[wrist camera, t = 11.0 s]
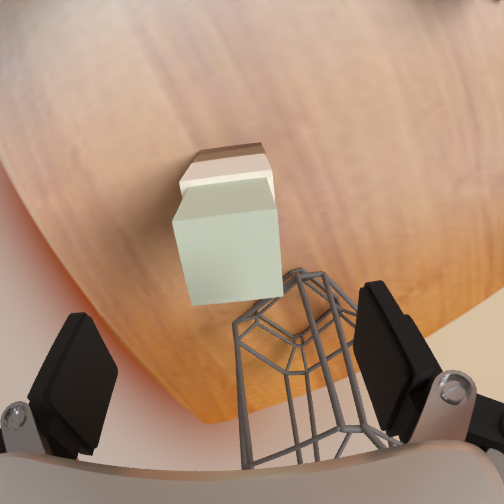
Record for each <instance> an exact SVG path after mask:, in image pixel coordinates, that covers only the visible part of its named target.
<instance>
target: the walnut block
mask: <svg viewBox="0 0 504 504" xmlns="http://www.w3.org/2000/svg"><path fill="white" fill-rule="evenodd" d="M264 153H265V151H264V148H263V146H262V144H261V142H260V143H251V144H243V145H235V146H227V147H220V148H213V149H206V150H200V152H199V153H198V155H197V156H196V158H195V159H194V161H193V162H192V163H195V162H202V161H209V160H216V159H223V158H230V157H238V156H246V155H255V154H264ZM265 155H266V153H265Z"/></svg>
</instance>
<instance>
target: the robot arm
mask: <svg viewBox="0 0 504 504" xmlns="http://www.w3.org/2000/svg"><path fill="white" fill-rule="evenodd" d="M353 350H354V355H355V357H356V360H357V363H358V365H359V368H360V371H361V373H362V376H363V379H364V382H365V385H366V388H367V390H368V393H369V396H370V399H371V402H372V405H373V408H374V411H375V414H376V417H377V420H378V422H379V425H380V428H381V430H382V431H385V430H386V431H387V434H388V437H389V438H390V437H393V436H397V435H398V436H399V439H400V441H402V442H403V443H402V445H398V446H393V447H389V448H384V449H379V450H375V451H371V452H367V453H362V454H357V455H353V456H348V457H342V458H336V459H331V460H325V461H319V462H313V463H306V464H299V465H293V466H285V467H284V466H283V467H274V468H264V469H250V470H235V471H234V470H233V471H168V470H150V469H138V468H127V467H119V466H110V465H103V464H96V463H90V462H84V461H79V460H78V457H77V456H78V453H80V454H84V455H91V456H92V455H93V451H94V449H95V448H97V446H98V443H99V439H100V435H101V431H102V428H103V424H104V420H105V417H106V413H107V410H108V406H109V403H110V399H111V395H112V392H113V389H114V385H115V382H116V379H117V375H118V369H117V366H116V364H115V362H114V360H113V358H112V357H111V355H110V353H109V351H108V349H107V347H106V345H105V344H104V342H103V340H102V338H101V336H100V334H99V332H98V330H97V328H96V326H95V324H94V322H93V320H92V318H91V317H90V316H88V315H87V314H86V313H84V312H81V313H71V314H70V315H69V316H68V318H67V320H66V321H65V323H64V325H63V327H62V329H61V330H60V332H59V334H58V336H57V338H56V340H55V341H54V343H53V345H52V347H51V349H50V351H49V353H48V355H47V357H46V359H45V361H44V363H43V365H42V367H41V369H40V371H39V373H38V375H37V377H36V379H35V381H34V383H33V386H32V388H31V390H30V392H29V394H28V396H27V398H28V399H29V400H30V402H29V405H28V404H27V403H25V402H22V401H18V402H15V403H12V404H11V405H9V406H8V407H7V408H6V409H5V410H4V412H3V414H2V416H1V420H0V421H1V428H0V504H504V403H502V402H499V401H496V400H493V399H491V398H487V397H485V396H482V395H479V394H477V389H476V386H475V383H474V382H473V380H472V378H471V377H469V376H468V375H467V374H465V373H463V372H461V371H456V370H448V371H445V372H443V371H442V369H441V367H440V366H439V364H438V362H437V360H436V358H435V357H434V355H433V353H432V351H431V350H430V348H429V346H428V345H427V343H426V341H425V339H424V338H423V336H422V334H421V333H420V331H419V329H418V328H417V326H416V324H415V323H414V321H413V320H412V318H411V317H410V316H409V315H407V314H406V315H404V314H403V312H402V311H401V309H400V307H399V306H398V304H397V303H396V301H395V299H394V298H393V296H392V294H391V293H390V291H389V290H388V288H387V287H386V285H385V283H384V282H383V281H382V280H379V281H373V282H366V283H365V285H364V287H362V288H360V290H359V300H358V309H357V318H356V326H355V334H354V341H353Z"/></svg>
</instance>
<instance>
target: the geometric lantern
mask: <svg viewBox="0 0 504 504" xmlns="http://www.w3.org/2000/svg"><path fill="white" fill-rule="evenodd" d="M299 271H301V272H300V274H298V275H295V276H294V273H296V272H299ZM290 275H291V277H292V279H290V280H289V281H288V282H286V283H285V284H284V285H283V295H284V294H285V293H287V292H288V291H289V290H290V289H291V288H292V287H293V286H294V285H296V284H297V285H298V288H299V292H300V295H301V298H302V301H303V304H304V308H305V311H306V315H307V318H308V321H309V325H310V327H309V328H308V329H307V330H306V331H304V332H303V333H302V334H299V335H294V336H293V335H291V334H290V333H288V332H287V331H285V330H284V329H282V328H281V327H279V326H278V325H276V324H275V323H273V322H271V321H270V320H268V319H267V318H265V317H264V316H262V315H261V314H263V313H264V312H265V311H266V310H267V309H268V308H270V307H271V306H272V305H273V304H274V303H275V302H276V301H278V300H279V299H280V298H281V297H276V298H275V297H274V298H275V299H274V300H273V301H272V302H270V303H269V304H268V305H267V306H266V307H265V308H264V309H263V310H261V311H260V312H259V313H258V309H260V308H261V307H262V306H264V305H265V304H266V303H268V302H269V301H271V300H272V299H273V298H266V299H260V300H259V301H258V302H257V303H256V304H255V305H254V307H253V308H251V309H250V310H249V311H247V312H246V313H244V314H243V315H242V316H240V317H239V318H238V319H236V320H235V321H234V322H233V323H232V329H233V337H234V346H235V358H236V378H237V398H238V416H239V434H240V448H241V449H240V450H241V466H242V470H250V469H254V466H256V465H259V464H262V463H264V462H267V461H270V460H273V459H275V458H278V457H280V456H283V455H286V454H288V453H290V452H293V451H295V450H296V455H297V461H298V465H299V464H303V461H302V455H301V449H300V448H303V447H305V446H307V445H309V444H312V443H313V447H314V456H315V462H319V461H320V456H319V448H318V441H319V440H321V439H323V438H325V437H327V436H329V435H331V434H334V433H336V432H337V431H340V432H343V433H347V435H346V437H345V439H344V441H343V442H342V445H341V446H340V448H339V450H338V452H337V454H336V456H335V458H334V459H336V458H340V456H341V454H342V452H343V450H344V448H345V446H346V444H347V442H348V440H349V438H350V436H351V434H352V433H363V432H364V434H365V435H366V436H367V437H368V438H369V439H370V440H371V441H372V443H373V444H374V445H375V446H376V447H377V448H378V449H384V448H387V447H386V446H385V445H384V444H383V443H382V442H381V441H380V439H379V438H377V436H379V437H382V438H383V439H385V440H387V441H388V444H389V447H393V446H394V444H395V445H397V446H398V445H402V443H403V442H402V441H400V442H399V441H398V440H395V439H394V438H393V437H390V438H389V437H388V434H387V431H386V430H385V431H386V434H384V433H382V432H381V431H379V430H377V429H375V428H373V427H371V426H370V425H368V424H367V421H366V416H365V412H364V408H363V403H362V399H361V395H360V391H359V387H358V383H357V380H356V375H355V372H354V368H353V364H352V360H351V357H350V353H349V349H348V347H350V346H351V345H353V341H354V339H353V340H351V341H350V342H348V343H347V342H346V339H345V335H344V331H343V328H342V324H341V321H340V318H339V317H340V316H341V317H342V318H343V319H344V320H345V321H346V322H348V323H349V324H350V325H351V326H352V327H354V328H355V326H356V325H355V324H353V323H352V322H351V321H350V320H349V319H348V318H346V317H345V316H344V315H343V314H342V312H345V313H348V314H350V315H353V316H356V317H357V313H354V312H351V311H348V310H345V309H343V308H342V306H341V304H340V302H339V300H338V296H336V295H335V294H334V293H333V292H332V291H331V288H330V285H331V286H332V288H333V289H334V290H335V291H336V292H337V293H338V294H339V295H340V296H341V297H342V298H343V299H344V300H345V301H346V302H347V303H348V304H349V305H350V306H351V307H352V308H353V309H354V310H355V311H356V312H357V309H358V307H357V305H356V304H355V303H354V302H353V301H352V300H351V299H350V298H349V297H348V296H347V295H346V294H345V293H344V292H343V291H342V290H341V289H340V287H339V286H338V285H337V284H336V283H335V282H334V281H333V280H332V279H331V278H330V277H329V276H328V275H327V274H326V273H325V272H323V271H319V272H311V273H308V272H307V271H306V270H304V269H303V268H298V269H295V270H291V271H290V272H289V273H288V274H287V275H286V276H285V277H284V278H283V279H282V281H283V282H284V281H285V280H286V279H287V278H288V277H289V276H290ZM315 277H322V280H323V283H324V285H323V284H322V283H321V282H319V281H318V280H317V279H316V278H315ZM310 279H312V280H313V281H315V282H316V283H317V284H318V285H319V286H321V287H322V288H323V289H324V290H326V293H327V296H326V295H324V294H323V293H322V292H321V291H319V290H318V289H317V288H315V287H314V286H313V285H311V284H310V283H309V282H308V280H310ZM302 282H303V283H305V284H306V285H307V286H309V287H310V288H311V289H313V290H314V291H315V292H317V293H318V294H319V295H320V296H322V297H323V298H324V299H326V300H327V301H328V302H329V304H330V307H331V309H330V310H329V311H328V312H327V313H326V314H324V315H323V316H322V317H321V318H320V319H319V320H317V321H316V322H315V320H314V317H313V314H312V311H311V308H310V304H309V301H308V298H307V295H306V292H305V289H304V286H303V283H302ZM329 284H330V285H329ZM334 298H335V299H336V303H335V301H334ZM254 312H255V316H251V317H249V316H250V315H251V314H253V313H254ZM331 312H332V315H333V319H332V320H331V321H330V322H329V323H327V324H326V325H325V326H324V327H323V328H321V329H320V330H319V331H318V330H317V327H316V325H317V324H318V323H319V322H320V321H322V320H323V319H324V318H325V317H326V316H328V315H329V314H330V313H331ZM259 317H260V318H262V319H263V320H265V321H266V322H268V323H269V324H271V325H272V326H274V327H275V328H277V329H279V330H280V331H282V332H283V333H285V334H286V335H288V336H289V337H291V338H293V343H292V342H291V341H289V340H287V339H286V338H284V337H282V336H280V335H279V334H277V333H275V332H274V331H272V330H270V329H269V328H267V327H265V326H264V325H262V324H260V323H259ZM252 319H255V323H254V324H252V325H251V326H250V327H249V328H248V329H247V330H246V331H245V332H244V333H243V334H241V335H240V336H239V334H238V325H237V324H239V323H241V322H244V321H248V320H252ZM333 322H335V326H336V330H337V333H338V337H339V341H340V345H341V348H340V349H338V350H337V351H335V352H333V353H332V354H330V355H329V356H327V357H326V356H325V353H324V349H323V346H322V343H321V340H320V336H319V334H320V333H321V332H322V331H323V330H325V329H326V328H327V327H328V326H329V325H331V324H332V323H333ZM256 325H258V326H259V327H261V328H263V329H265V330H266V331H268V332H270V333H271V334H273V335H275V336H276V337H278V338H280V339H282V340H283V341H285V342H287V343H288V344H290V345H292V346H293V349H292V352H291V355H290V358H289V361H288V364H287V367H286V370H284V369H282V368H281V367H279V366H277V365H276V364H274V363H273V362H271V361H270V360H268V359H267V358H265V357H264V356H262V355H261V354H259V353H258V352H256V351H255V350H253V349H252V348H250V347H249V346H247V345H246V344H244V343H243V342H242V341H240V340H241V339H242V338H243V337H244V336H245V335H246V334H247V333H248V332H249V331H250V330H252V329H253V328H254V327H255V326H256ZM310 330H311V332H312V335H313V336H312V337H310V338H309V339H308V340H307V341H306V342H304V338H303V336H304V335H305V334H306V333H307V332H309V331H310ZM297 337H301V343H302V344H296V340H295V338H297ZM312 339H314V342H315V346H316V349H317V353H318V356H319V360H320V362H318V363H316V364H315V365H313V366H312V367H310V368H309V369H308V368H307V363H306V358H305V353H304V346H305V345H306V344H307V343H309V342H310V341H311V340H312ZM240 346H241V347H242V348H244V349H245V350H247V351H248V352H250V353H251V354H253V355H255V356H256V357H258V358H259V359H261V360H262V361H264V362H265V363H267V364H268V365H270V366H271V367H273V368H275V369H276V370H278V371H279V372H281V373H282V374H284V379H285V386H286V392H287V398H288V405H289V411H290V416H291V423H292V430H293V436H294V442H295V446H292V447H290V448H287V449H285V450H283V451H280V452H278V453H275V454H273V455H270V456H267V457H265V458H262V459H259V460H257V461H253V454H252V445H251V437H250V429H249V421H248V413H247V405H246V396H245V388H244V379H243V371H242V362H241V353H240ZM296 347H301V352H302V357H303V362H304V367H305V371H288V370H289V367H290V364H291V361H292V358H293V355H294V352H295V349H296ZM341 352H342V353H343V356H344V360H345V364H346V368H347V373H348V377H349V381H350V385H351V389H352V393H353V397H354V401H355V405H356V409H357V413H358V418H359V421H360V425H345V422H344V419H343V415H342V411H341V408H340V404H339V400H338V397H337V393H336V390H335V386H334V383H333V380H332V376H331V373H330V369H329V366H328V363H327V361H329V360H330V359H332V358H333V357H335V356H336V355H338V354H339V353H341ZM319 366H321V367H322V371H323V374H324V378H325V382H326V385H327V389H328V392H329V396H330V400H331V403H332V408H333V412H334V415H335V419H336V423H337V426H336V427H334V428H332V429H330V430H328V431H326V432H324V433H321V434H319V435H317V433H316V425H315V418H314V410H313V403H312V396H311V388H310V380H309V373H310V372H311V371H313V370H314V369H316V368H318V367H319ZM288 375H305V382H306V391H307V398H308V405H309V414H310V422H311V431H312V438H311V439H308V440H306V441H304V442H302V443H299V437H298V431H297V425H296V419H295V413H294V407H293V401H292V395H291V390H290V384H289V378H288ZM376 435H377V436H376Z"/></svg>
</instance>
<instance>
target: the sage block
mask: <svg viewBox="0 0 504 504" xmlns="http://www.w3.org/2000/svg"><path fill="white" fill-rule="evenodd" d="M172 225H173V229H174V234H175V238H176V243H177V247H178V251H179V256H180V260H181V264H182V268H183V272H184V276H185V280H186V284H187V288H188V292H189V296H190V300H191V304H192V306H198V305H209V304H219V303H229V302H239V301H248V300H257V299H266V298H274V297H283V281H282V267H281V254H280V241H279V228H278V216H277V207H276V204H275V201H274V198H273V195H272V192H271V189H270V186H269V183H268V180H267V177H261V178H252V179H244V180H235V181H227V182H220V183H212V184H205V185H197V186H191V187H189V188H188V190H187V192H186V194H185V196H184V198H183V200H182V202H181V204H180V206H179V208H178V210H177V212H176V214H175V216H174V218H173V220H172Z"/></svg>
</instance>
